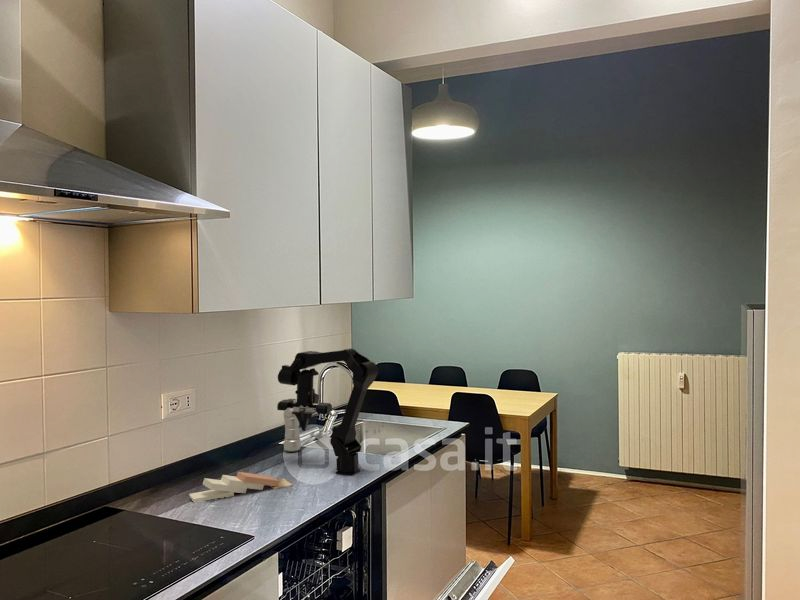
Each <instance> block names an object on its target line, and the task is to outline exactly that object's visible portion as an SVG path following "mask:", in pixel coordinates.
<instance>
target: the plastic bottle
mask: <svg viewBox="0 0 800 600" xmlns="http://www.w3.org/2000/svg"><path fill="white" fill-rule="evenodd" d="M286 400H293V401H294V403H295V402H297V398H287V399H286ZM292 412H293V408H287V409H286V410H285V411H283V420H284V431H285V432H284V442H283V448H284V450H285V452H288V453H289V452H290V453H292V452H298V451H299V450H300V449H301V447H302V441H301V438H300V435H301V434H300V423H299V421H298V419H297V418H296V416H295V414H292Z"/></svg>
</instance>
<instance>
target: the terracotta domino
mask: <svg viewBox="0 0 800 600" xmlns="http://www.w3.org/2000/svg"><path fill="white" fill-rule="evenodd" d="M235 477H236V478H238V479H240V480H241V481H243V482H246V483H254V484H262V485H264V486H277V487H278V483H279V481H278V480H277V479H276V478H275V477H273V476H271V475H270V476H269V475H265V474H258V473H257V474H256V473H250V472H244V471H243V472H242V471H237V473H236V476H235Z"/></svg>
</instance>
